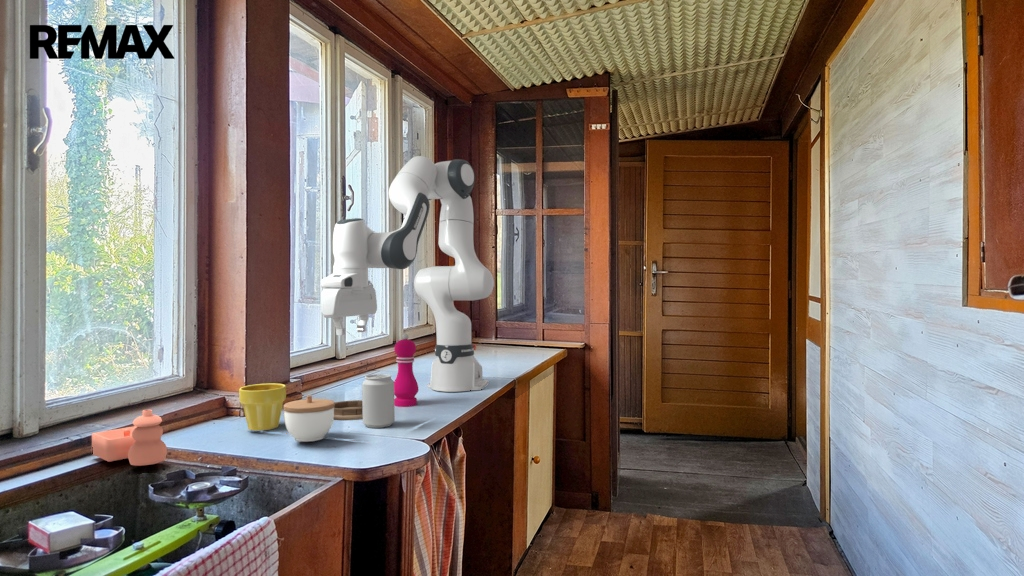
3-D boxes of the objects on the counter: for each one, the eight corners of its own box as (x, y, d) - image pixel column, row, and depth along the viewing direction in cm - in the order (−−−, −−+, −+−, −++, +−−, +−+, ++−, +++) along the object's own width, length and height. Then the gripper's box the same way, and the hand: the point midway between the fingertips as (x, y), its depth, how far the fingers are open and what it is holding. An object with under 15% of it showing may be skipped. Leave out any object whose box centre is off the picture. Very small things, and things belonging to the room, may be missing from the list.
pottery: (91, 454, 127) (91, 405, 127) (142, 444, 135) (142, 398, 135) (126, 470, 116) (126, 416, 116) (180, 458, 123) (179, 408, 123)
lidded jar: (283, 435, 142) (283, 393, 142) (332, 431, 146) (332, 390, 146) (284, 446, 132) (283, 401, 132) (336, 441, 136) (336, 398, 136)
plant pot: (236, 434, 143) (235, 391, 143) (242, 424, 153) (242, 384, 153) (284, 431, 146) (284, 389, 146) (287, 422, 156) (287, 382, 156)
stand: (344, 407, 173) (344, 398, 173) (388, 411, 169) (388, 401, 169) (311, 417, 160) (311, 408, 160) (359, 421, 156) (359, 411, 156)
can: (356, 427, 150) (355, 376, 150) (375, 420, 157) (375, 372, 156) (382, 430, 147) (381, 378, 146) (400, 423, 153) (400, 373, 153)
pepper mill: (416, 407, 174) (415, 334, 174) (389, 407, 174) (389, 334, 174) (420, 402, 181) (420, 332, 181) (395, 402, 181) (395, 332, 181)
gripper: (362, 280, 175) (363, 330, 175) (316, 280, 156) (317, 336, 156) (382, 280, 173) (382, 330, 173) (338, 280, 154) (338, 337, 154)
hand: (351, 333), depth 165 cm, fingers open, 8 cm apart
